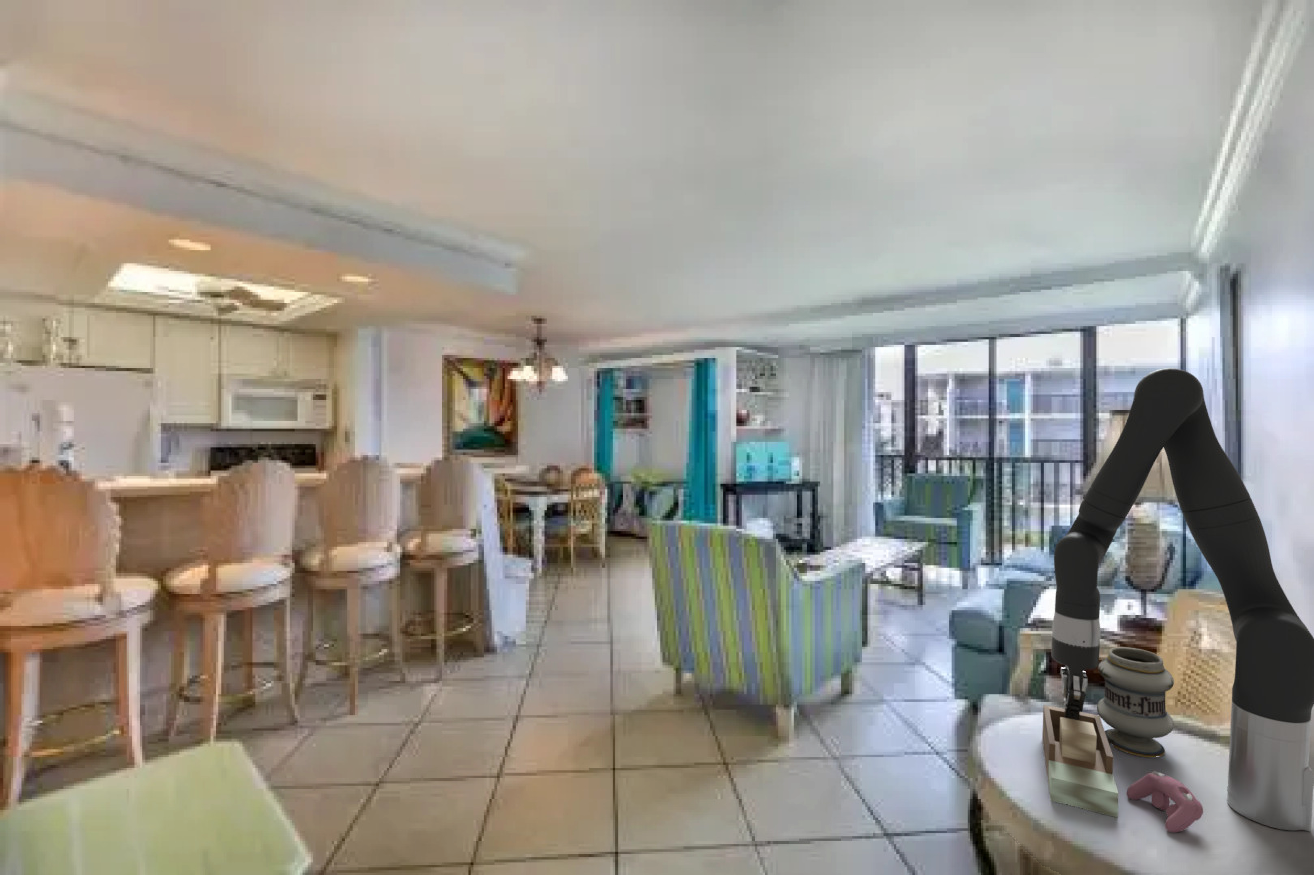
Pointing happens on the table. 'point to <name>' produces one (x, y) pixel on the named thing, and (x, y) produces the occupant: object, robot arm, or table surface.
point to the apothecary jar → (1135, 701)
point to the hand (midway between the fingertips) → (1071, 727)
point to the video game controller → (1161, 791)
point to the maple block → (1077, 740)
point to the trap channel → (1079, 768)
